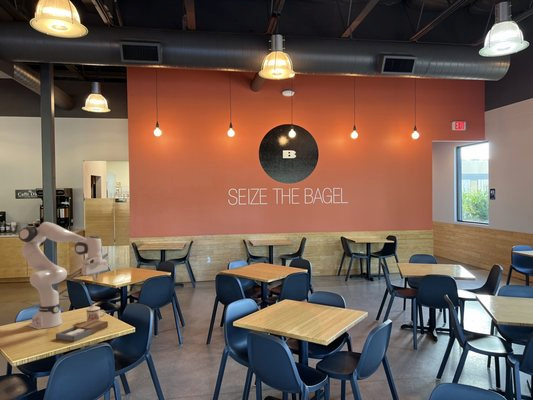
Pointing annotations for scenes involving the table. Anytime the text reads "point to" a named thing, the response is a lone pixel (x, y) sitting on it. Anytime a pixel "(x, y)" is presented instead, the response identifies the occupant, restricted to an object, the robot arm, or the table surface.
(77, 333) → the front coaster
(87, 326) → the walnut board
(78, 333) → the rear coaster
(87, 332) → the tray
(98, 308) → the teacup with lid
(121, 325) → the table surface
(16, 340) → the table surface
